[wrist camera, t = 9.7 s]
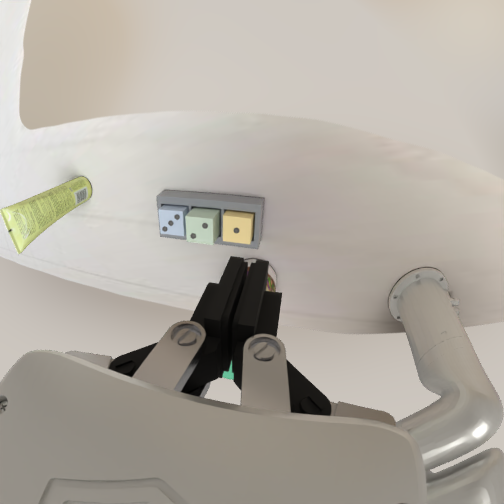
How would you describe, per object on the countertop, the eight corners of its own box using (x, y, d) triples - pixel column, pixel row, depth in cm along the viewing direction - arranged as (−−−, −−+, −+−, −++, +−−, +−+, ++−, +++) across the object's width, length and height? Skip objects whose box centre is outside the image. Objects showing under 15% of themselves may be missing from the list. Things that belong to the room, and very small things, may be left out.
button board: (263, 198, 40) (261, 205, 38) (260, 239, 44) (257, 249, 41) (165, 189, 42) (156, 195, 40) (167, 228, 46) (160, 236, 43)
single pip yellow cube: (255, 209, 40) (251, 219, 37) (253, 233, 42) (249, 245, 39) (228, 206, 41) (222, 216, 38) (228, 230, 43) (222, 241, 40)
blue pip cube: (191, 203, 42) (182, 212, 38) (192, 226, 44) (183, 236, 40) (168, 201, 42) (157, 209, 39) (169, 224, 44) (160, 234, 41)
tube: (71, 191, 45) (-1, 236, 29) (76, 169, 43) (-2, 210, 26) (89, 204, 46) (18, 255, 29) (95, 183, 44) (17, 229, 27)
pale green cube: (219, 209, 40) (212, 219, 37) (219, 234, 42) (212, 245, 39) (193, 207, 40) (184, 216, 37) (194, 231, 42) (186, 242, 39)
